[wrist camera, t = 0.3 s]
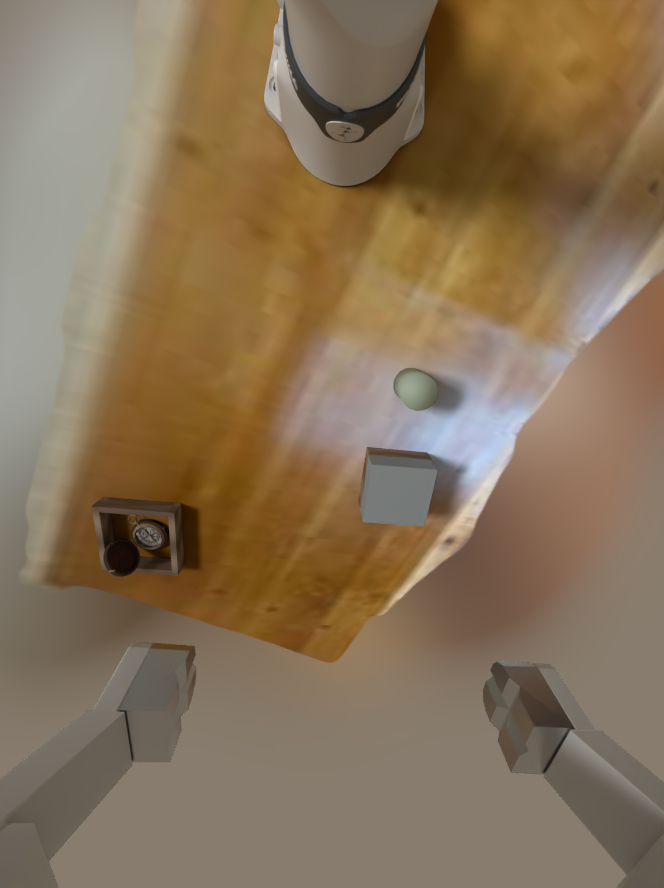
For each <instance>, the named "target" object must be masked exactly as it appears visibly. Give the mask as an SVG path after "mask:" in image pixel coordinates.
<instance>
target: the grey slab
mask: <svg viewBox="0 0 664 888" xmlns="http://www.w3.org/2000/svg"><path fill="white" fill-rule="evenodd" d="M437 472H438V469H437V468H436V466H435V465H434V464H433V462H432V461H431V460H422V459H410V458H398V457H385V456H373V455H369V456H368V462H367V469H366V476H365V482H364V489H363V496H362V502H361V509H360V511H361V516H362V521H363V522H369V523H384V524H398V525H413V526H425V523H426V519H427V514H428V510H429V506H430V502H431V497H432V493H433V489H434V485H435V480H436V476H437Z"/></svg>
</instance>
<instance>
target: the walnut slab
mask: <svg viewBox="0 0 664 888" xmlns="http://www.w3.org/2000/svg"><path fill="white" fill-rule="evenodd" d="M369 455H373V456H385V457H398V458H410V459H422V460H431V458H430V457H429V456H428V454H427V453H425V452H415V451H404V450H393V449H382V448H371V447H367V450H366V457H365V463H364V469H363V476H362V482H361V488H360V495H359V504H360V509H361V502H362V496H363V489H364V482H365V476H366V469H367V462H368V456H369ZM431 461H432V460H431Z"/></svg>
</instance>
